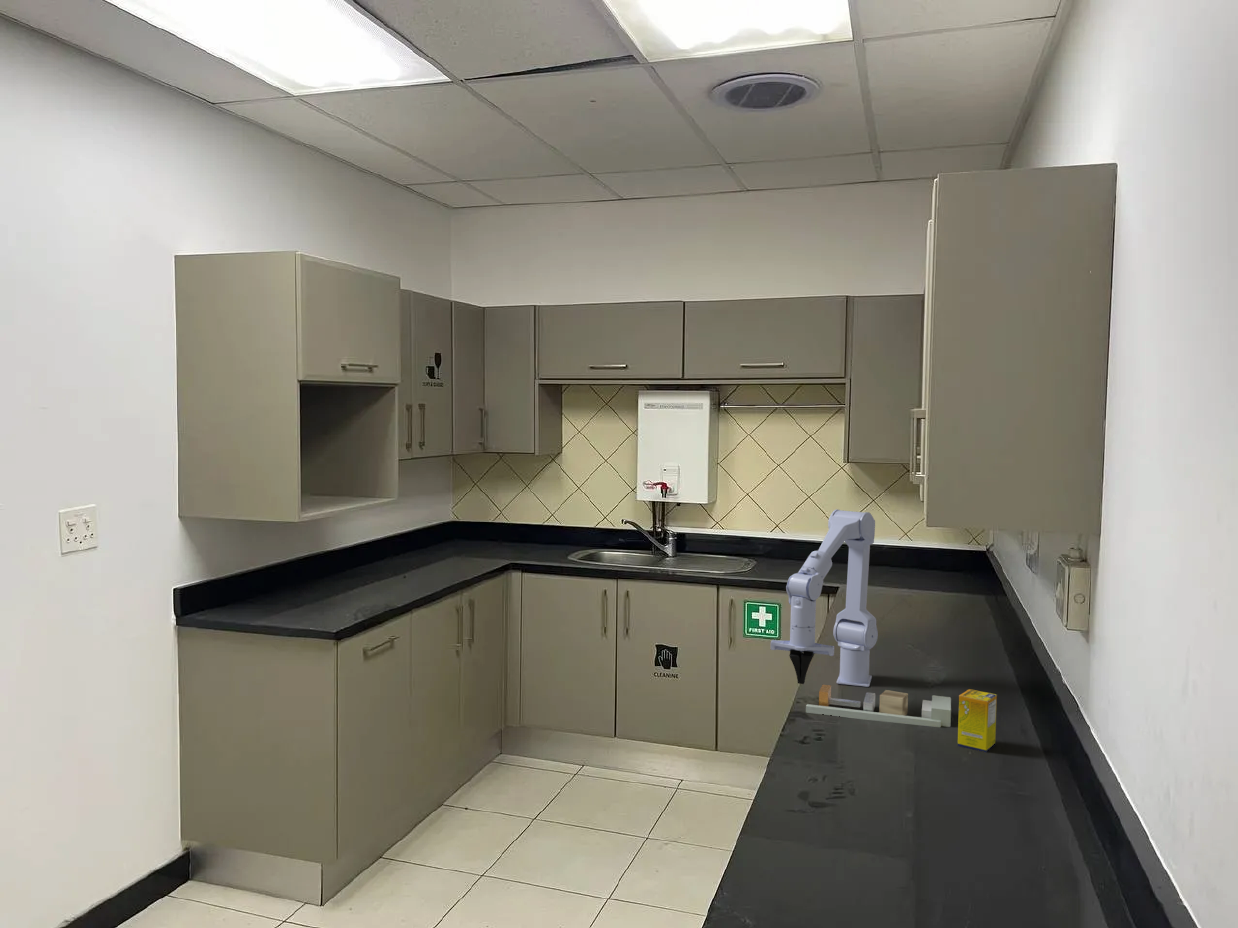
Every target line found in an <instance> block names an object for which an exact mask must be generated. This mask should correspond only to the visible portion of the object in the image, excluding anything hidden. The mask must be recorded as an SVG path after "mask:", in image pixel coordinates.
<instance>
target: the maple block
mask: <svg viewBox="0 0 1238 928" xmlns="http://www.w3.org/2000/svg"><path fill="white" fill-rule="evenodd" d="M908 702H909V693H907V692H902V691H894V690H889V689H885V690H884V691H883V692H882V693H881V694H879V709H878V713H887V714H895V715H904V716H908V710H909V709H908V707H909V706H908V705H909V703H908Z"/></svg>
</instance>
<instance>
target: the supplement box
mask: <svg viewBox="0 0 1238 928" xmlns="http://www.w3.org/2000/svg"><path fill="white" fill-rule="evenodd" d="M997 697H998V694H996V693H991V692H986V691H980V690H975V689H970V688H969V689H966V691H964V692H962V693H961V694H959V695H958V719H957V720H958V722H957V723H958V724H957V747H961V748H964V749H965V748H966V749H969V750H973V751H974V750H975V751H978V750H979V752H982V751H984V752H983V753H988V752H989V751H990V750H991V749H992V748H993V747H994V746H995V745H996V736H997V735H996V734H997V732H996V731H997V730H996V729H997V705H998V704H997V699H998V698H997ZM994 744H995V745H994ZM993 745H994V746H993ZM992 746H993V747H992ZM991 747H992V748H991ZM990 748H991V749H990ZM989 749H990V750H989ZM988 750H989V751H988ZM987 751H988V752H987Z"/></svg>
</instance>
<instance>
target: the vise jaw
mask: <svg viewBox="0 0 1238 928" xmlns="http://www.w3.org/2000/svg"><path fill="white" fill-rule="evenodd" d="M861 703H862V701H861V700H854V699H853V700H852V699H844V698H837V697H836V698H833V697H832V685H831V684H830V685H829V684H822V685H821V687H820V688H819V692H818V706H827V707H830V705H834V706H843V707H853V708H861V705H862V704H861ZM862 708H863V710H862V711H870V712H875V708H876V693H875V692H867V691H866V693H865V696H864V700H863V707H862Z"/></svg>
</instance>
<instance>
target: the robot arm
mask: <svg viewBox="0 0 1238 928" xmlns="http://www.w3.org/2000/svg"><path fill="white" fill-rule="evenodd" d="M827 522H828V523H827V526H828V527H827V528H828V530H827V533H826V534H825V536H824V538H823V540H822V542H821V545H820V546H819V548H818V549H817V550H814V551H811V553H810V554H809V555H808V556H807V558H806V560H805V562H804V563H803V564H802V566H801V568H800V569H799V570H798V572H796V573H793V574H792V575H790V576H789V578H788V580H787V583H786V586H785V589H786V593H787V596H788V603H789V605H790V624H789V625H790V627H789V640H781V639H780V640H778V639H772V640H771V641H770V650H771V651H776V650H777V651H785V652H787V651H788V652H789V655H788V656H789V658H790V661H791V663H792V666H793V668H794V671H795V675H796V680H797V681H796V682H797V684H798V685H799V684H800V685H801V684H802V685H804V684H805V682H806V677H807V672H808V671H809V670H808V669H809V666H810V665H811V662H812V659H813V658H814V655H827V656H830V657H833V656H835V645H830V644H829V645H828V644H823V643H818V642H816V614H817V613H816V612H817V609H816V608H817V600H819V599H818V598H820V596H821V593H822V590H823V585H824V580H825V578H826V576H827V575H828V573H829V571H830V570H831V568H832V567H833V562H832V561H833V560H832V558H833V556H834V555H835V554H836V552H837V551H838V550H839V549H840V548H841V546H842V545H843V544H844V543H845V544H846V545H847V547H848V558H847V559H848V561H847V577H846V578H847V579H846V593H845V595H846V596H845V608H844V609H842V610H841V611H839V612H838V613H837V614H836V616H835V617H836V618H835V623H834V626H833V629H832V630H833V632H832V633H833V637H834V640H835V641H836V642H837V646H838V647H840V651H839V653H840V654H839V657H840V658H839V674H838V677H837V680H836V684H839V685H849V686H856V687H866V688H868V687H870V685H871V681H872V679H873V676H872V675H870V651H871V649H872V648H874V646H875V645H876V644H877V641H878V637H879V636H878V635H879V634H878V633H879V631H878V627H877V618H876V617H875V616H874V615H873V614H872V613H871V612H870V611H869V610H868V609H867V604H868V603H867V600H868V586H869V567H870V566H869V565H870V552H871V551H870V550H871V545H873V544H875V543H874V542H875V532H876V520H875V518H874V516H873V514H871V513H870V512H869V511H865V512H864V511H863V512H862V511H850V510H841V509H839V508H838V509H837V508H836V509H834V510H833V511H832V512H831V513H830V516H829V518H828V521H827Z"/></svg>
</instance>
